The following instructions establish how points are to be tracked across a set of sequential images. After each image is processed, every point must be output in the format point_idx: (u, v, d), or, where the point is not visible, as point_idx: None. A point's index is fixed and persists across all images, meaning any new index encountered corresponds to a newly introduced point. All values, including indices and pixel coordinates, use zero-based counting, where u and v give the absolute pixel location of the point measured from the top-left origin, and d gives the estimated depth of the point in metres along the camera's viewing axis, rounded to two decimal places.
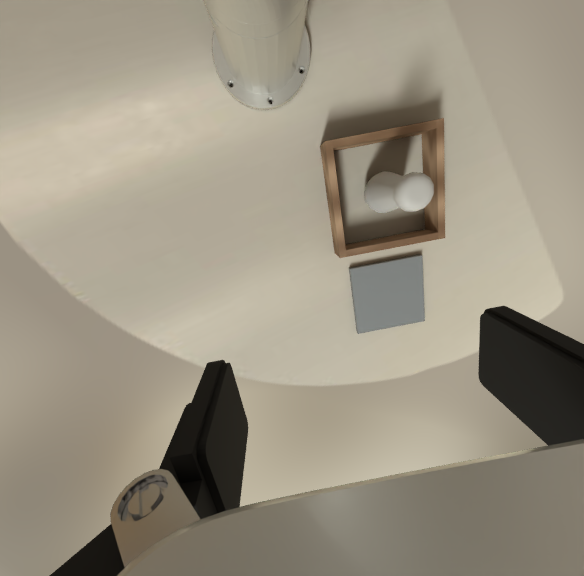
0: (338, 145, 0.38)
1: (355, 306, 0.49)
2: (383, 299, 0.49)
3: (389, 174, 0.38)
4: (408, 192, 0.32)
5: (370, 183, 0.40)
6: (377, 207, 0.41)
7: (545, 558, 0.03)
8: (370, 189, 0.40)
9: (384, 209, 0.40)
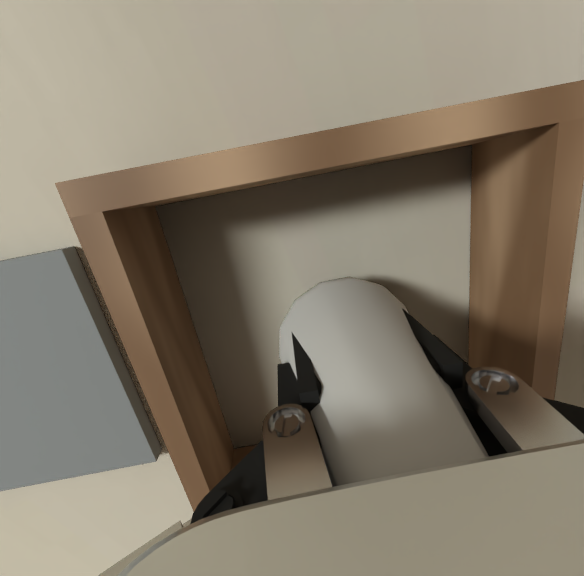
0: (562, 148, 0.09)
1: None
2: None
3: None
4: None
5: (386, 295, 0.11)
6: (302, 332, 0.10)
7: (545, 558, 0.03)
8: (371, 298, 0.10)
9: None
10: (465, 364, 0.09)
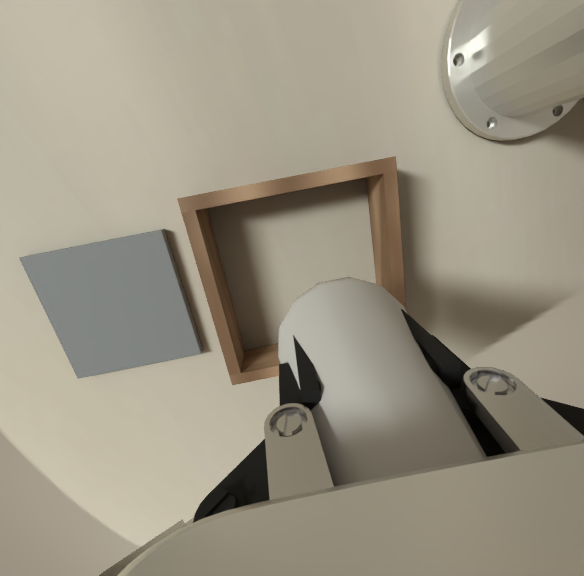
0: (386, 183, 0.21)
1: (82, 247, 0.24)
2: (107, 300, 0.25)
3: None
4: None
5: (385, 296, 0.11)
6: (302, 333, 0.10)
7: (545, 558, 0.03)
8: (370, 298, 0.10)
9: None
10: (463, 364, 0.09)
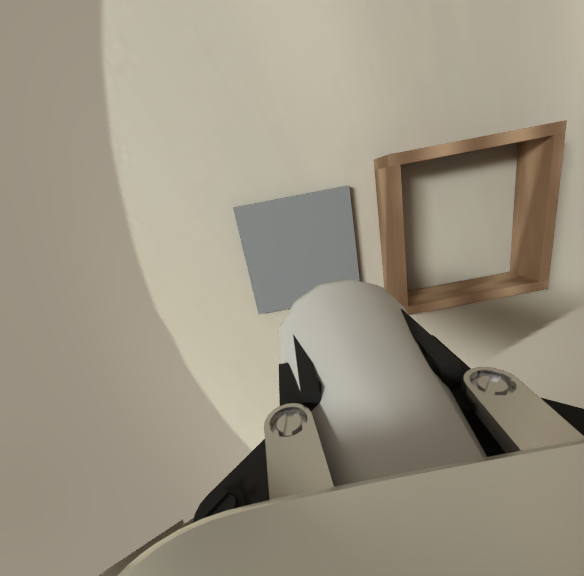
0: (555, 143, 0.26)
1: (284, 199, 0.29)
2: (295, 245, 0.31)
3: None
4: None
5: (386, 297, 0.11)
6: (302, 335, 0.10)
7: (545, 558, 0.03)
8: (371, 300, 0.10)
9: None
10: (463, 364, 0.09)
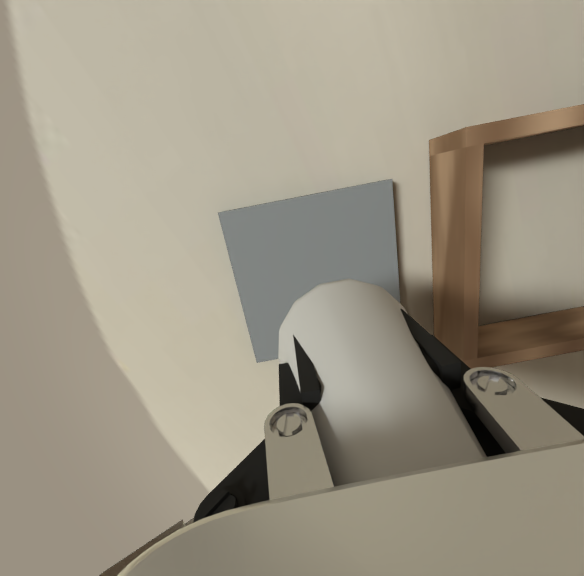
0: None
1: (294, 200, 0.19)
2: (310, 268, 0.21)
3: None
4: None
5: (386, 297, 0.11)
6: (302, 335, 0.10)
7: (545, 559, 0.03)
8: (371, 300, 0.10)
9: None
10: (463, 364, 0.09)
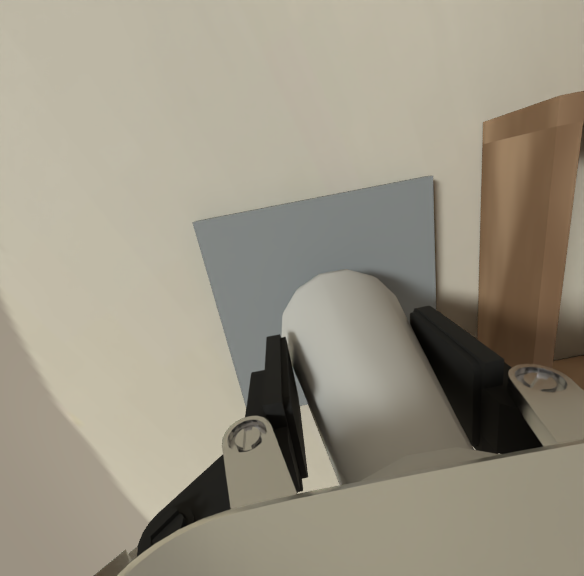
0: None
1: (297, 204, 0.14)
2: None
3: None
4: None
5: (378, 286, 0.12)
6: (302, 318, 0.11)
7: (545, 558, 0.03)
8: (364, 288, 0.11)
9: (299, 346, 0.11)
10: None
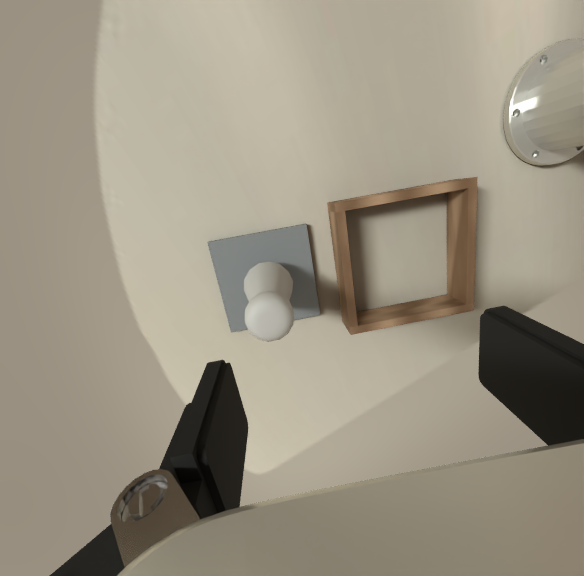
0: (469, 194, 0.32)
1: (251, 235, 0.34)
2: None
3: (290, 287, 0.31)
4: (269, 309, 0.23)
5: (279, 267, 0.32)
6: (249, 277, 0.31)
7: (545, 558, 0.03)
8: (272, 267, 0.32)
9: (247, 286, 0.31)
10: None
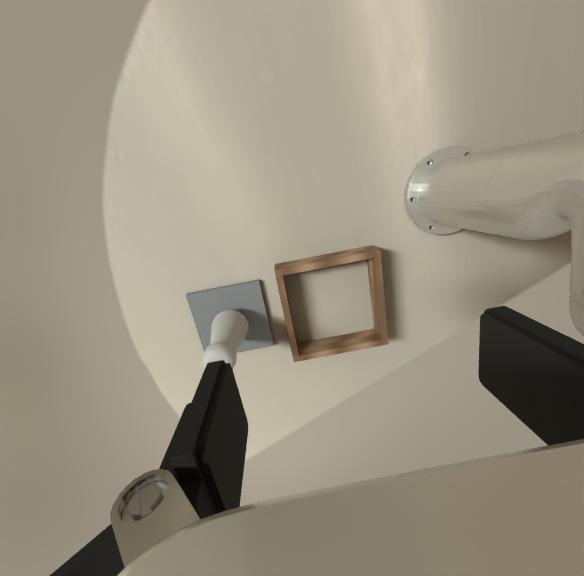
0: (376, 262, 0.43)
1: (218, 289, 0.46)
2: None
3: (242, 331, 0.43)
4: (216, 356, 0.35)
5: (236, 315, 0.44)
6: (214, 323, 0.43)
7: (545, 558, 0.03)
8: (231, 315, 0.44)
9: (212, 330, 0.43)
10: None
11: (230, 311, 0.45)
